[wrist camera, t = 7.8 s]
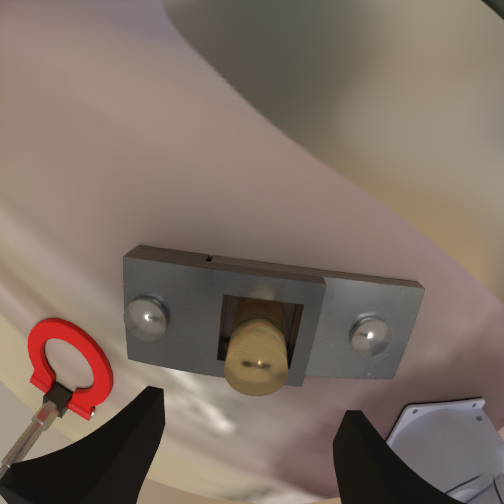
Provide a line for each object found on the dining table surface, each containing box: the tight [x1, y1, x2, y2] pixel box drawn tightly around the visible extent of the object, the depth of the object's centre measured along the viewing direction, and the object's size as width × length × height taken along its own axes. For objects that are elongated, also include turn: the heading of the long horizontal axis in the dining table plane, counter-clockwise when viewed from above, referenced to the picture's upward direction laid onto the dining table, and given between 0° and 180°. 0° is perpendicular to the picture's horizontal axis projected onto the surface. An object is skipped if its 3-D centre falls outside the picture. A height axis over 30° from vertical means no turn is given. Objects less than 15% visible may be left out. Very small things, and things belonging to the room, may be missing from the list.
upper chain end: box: [123, 245, 327, 386], centre depth 19 cm, size 11×7×3 cm, turn 83°
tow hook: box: [0, 318, 113, 479], centre depth 17 cm, size 8×13×9 cm
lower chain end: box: [211, 256, 425, 379], centre depth 19 cm, size 13×7×2 cm, turn 83°
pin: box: [224, 297, 288, 396], centre depth 17 cm, size 3×3×6 cm
